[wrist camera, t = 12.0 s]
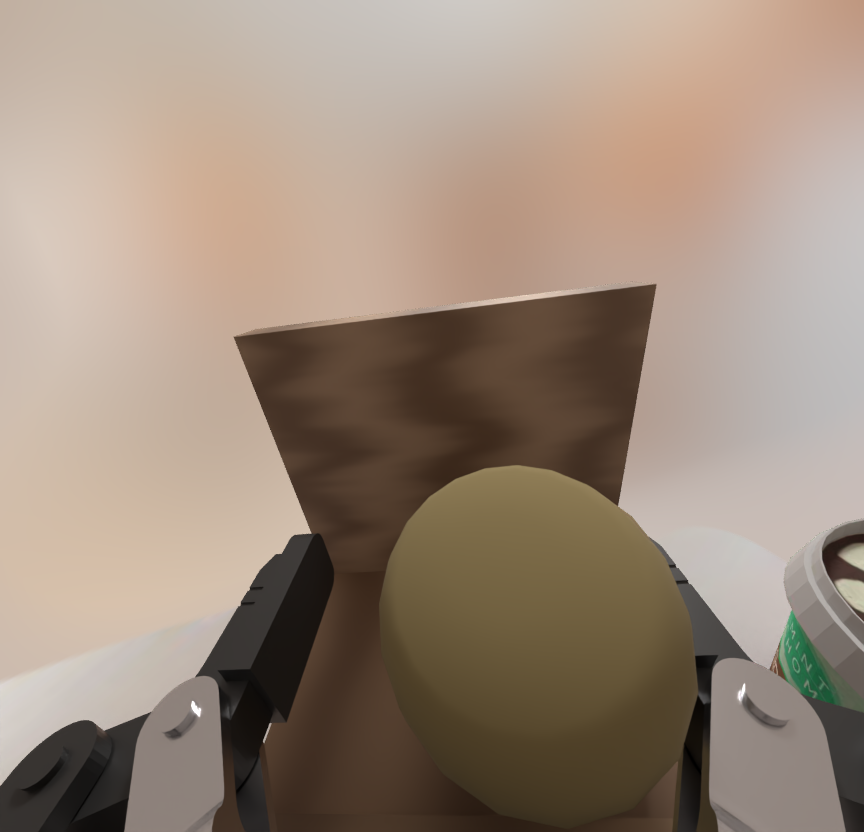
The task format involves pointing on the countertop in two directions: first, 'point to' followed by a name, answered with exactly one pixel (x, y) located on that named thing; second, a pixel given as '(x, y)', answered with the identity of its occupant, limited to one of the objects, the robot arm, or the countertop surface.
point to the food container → (826, 618)
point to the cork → (538, 646)
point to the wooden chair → (406, 492)
